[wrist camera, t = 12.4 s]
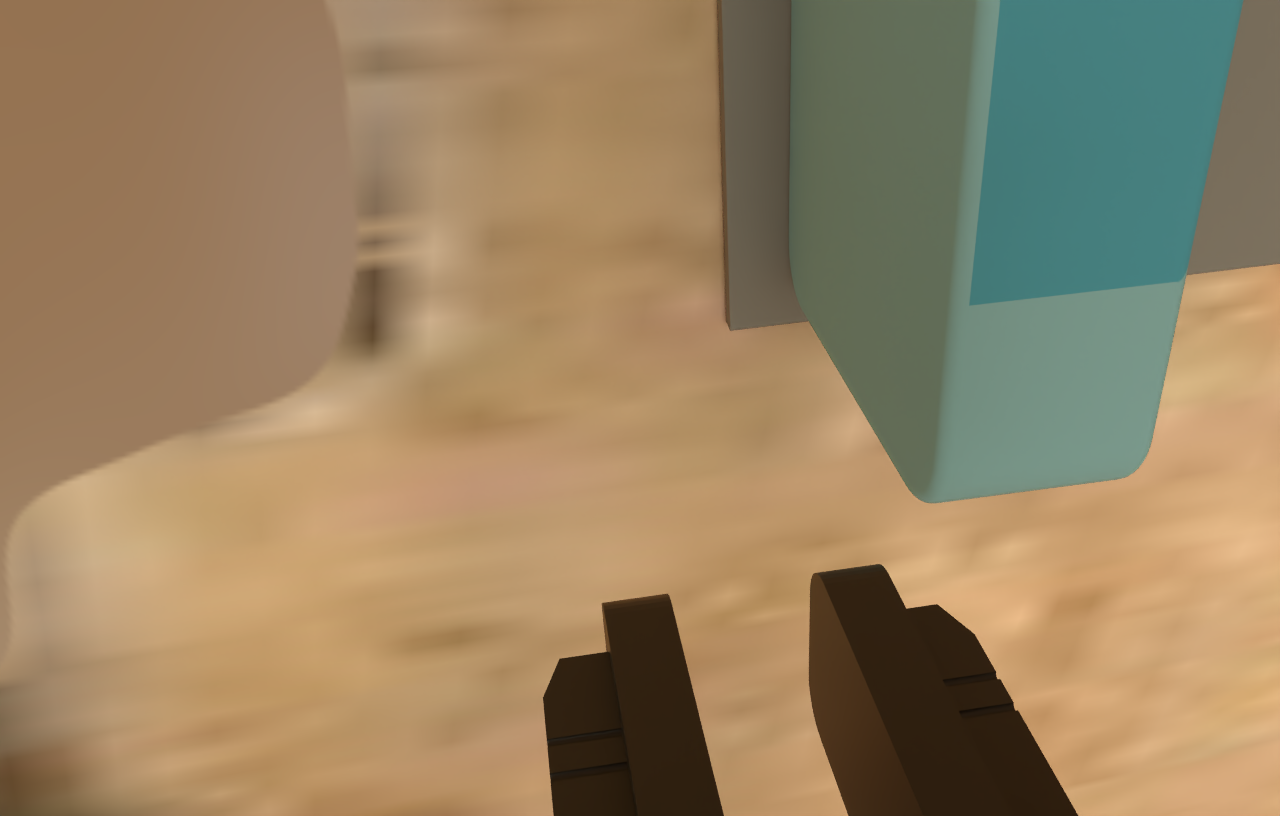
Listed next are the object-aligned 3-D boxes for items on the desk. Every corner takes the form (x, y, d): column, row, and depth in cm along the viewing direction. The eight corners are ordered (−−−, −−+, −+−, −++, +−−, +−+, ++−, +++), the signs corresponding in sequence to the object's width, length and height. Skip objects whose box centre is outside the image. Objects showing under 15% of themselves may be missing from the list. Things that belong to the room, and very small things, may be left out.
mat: (711, -207, 27) (716, -206, 27) (1494, -270, 29) (1513, -271, 28) (726, 321, 34) (730, 330, 34) (1351, 246, 36) (1363, 253, 36)
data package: (935, 273, 34) (1143, 510, 24) (785, 289, 33) (931, 537, 23) (973, -184, 28) (1278, -130, 17) (790, -170, 27) (992, -107, 17)
